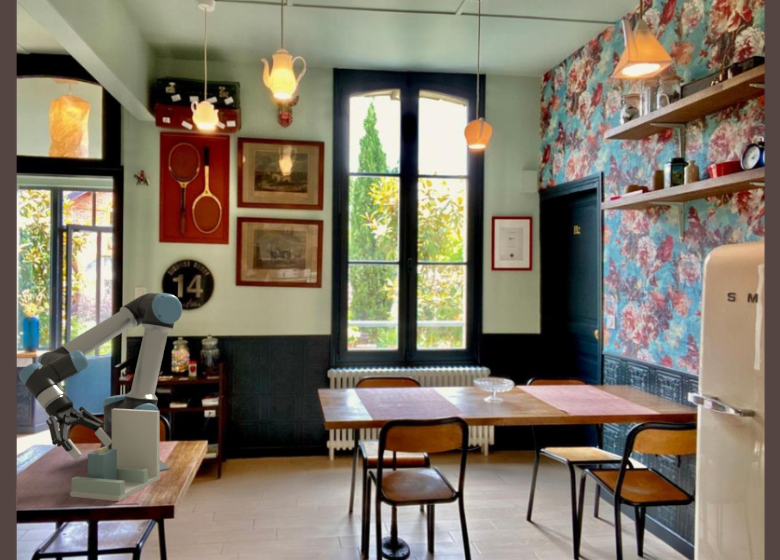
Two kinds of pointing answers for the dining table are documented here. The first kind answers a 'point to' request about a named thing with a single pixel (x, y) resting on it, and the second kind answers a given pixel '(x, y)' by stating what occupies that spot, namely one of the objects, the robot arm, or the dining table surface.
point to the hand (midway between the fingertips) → (94, 450)
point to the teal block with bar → (103, 464)
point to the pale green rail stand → (127, 457)
